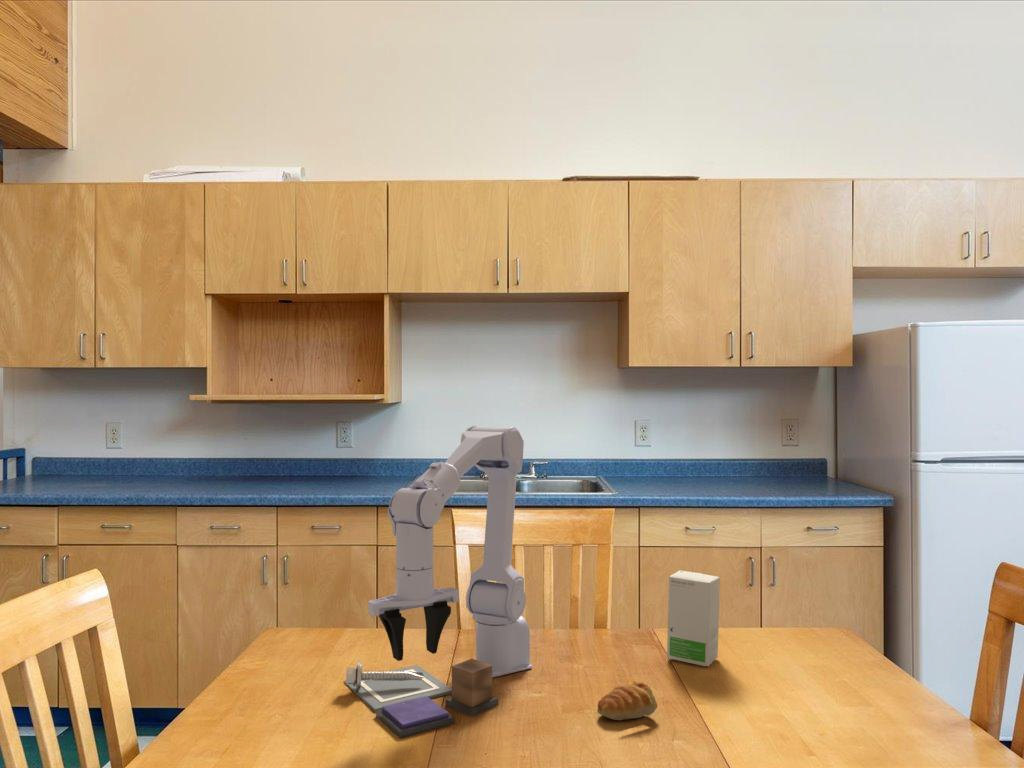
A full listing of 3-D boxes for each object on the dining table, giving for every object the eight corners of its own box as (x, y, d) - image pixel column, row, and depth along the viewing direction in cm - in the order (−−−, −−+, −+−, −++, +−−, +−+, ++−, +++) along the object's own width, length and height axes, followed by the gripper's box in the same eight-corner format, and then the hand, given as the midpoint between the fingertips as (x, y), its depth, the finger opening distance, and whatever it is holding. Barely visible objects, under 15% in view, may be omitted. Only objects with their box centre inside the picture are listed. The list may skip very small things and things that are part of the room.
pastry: (615, 728, 114) (615, 702, 114) (586, 711, 120) (586, 687, 120) (660, 712, 119) (661, 688, 119) (631, 697, 125) (631, 674, 125)
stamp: (471, 695, 127) (471, 656, 127) (498, 705, 123) (498, 665, 123) (445, 706, 123) (445, 666, 123) (472, 717, 119) (472, 675, 119)
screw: (345, 696, 125) (347, 666, 125) (345, 685, 130) (347, 656, 130) (424, 696, 128) (426, 666, 128) (422, 685, 133) (424, 657, 133)
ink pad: (428, 703, 124) (428, 693, 124) (454, 723, 116) (454, 713, 116) (376, 716, 119) (376, 706, 119) (400, 738, 112) (400, 727, 112)
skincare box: (666, 659, 144) (665, 576, 144) (678, 649, 150) (677, 569, 150) (710, 667, 140) (709, 582, 140) (720, 656, 145) (720, 574, 146)
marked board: (417, 667, 140) (417, 664, 140) (453, 693, 128) (453, 689, 128) (343, 683, 132) (343, 680, 132) (375, 712, 121) (375, 708, 121)
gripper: (444, 556, 125) (444, 639, 125) (360, 567, 117) (360, 656, 117) (465, 564, 119) (465, 651, 119) (378, 576, 112) (378, 670, 111)
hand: (414, 655), depth 118 cm, fingers open, 5 cm apart
